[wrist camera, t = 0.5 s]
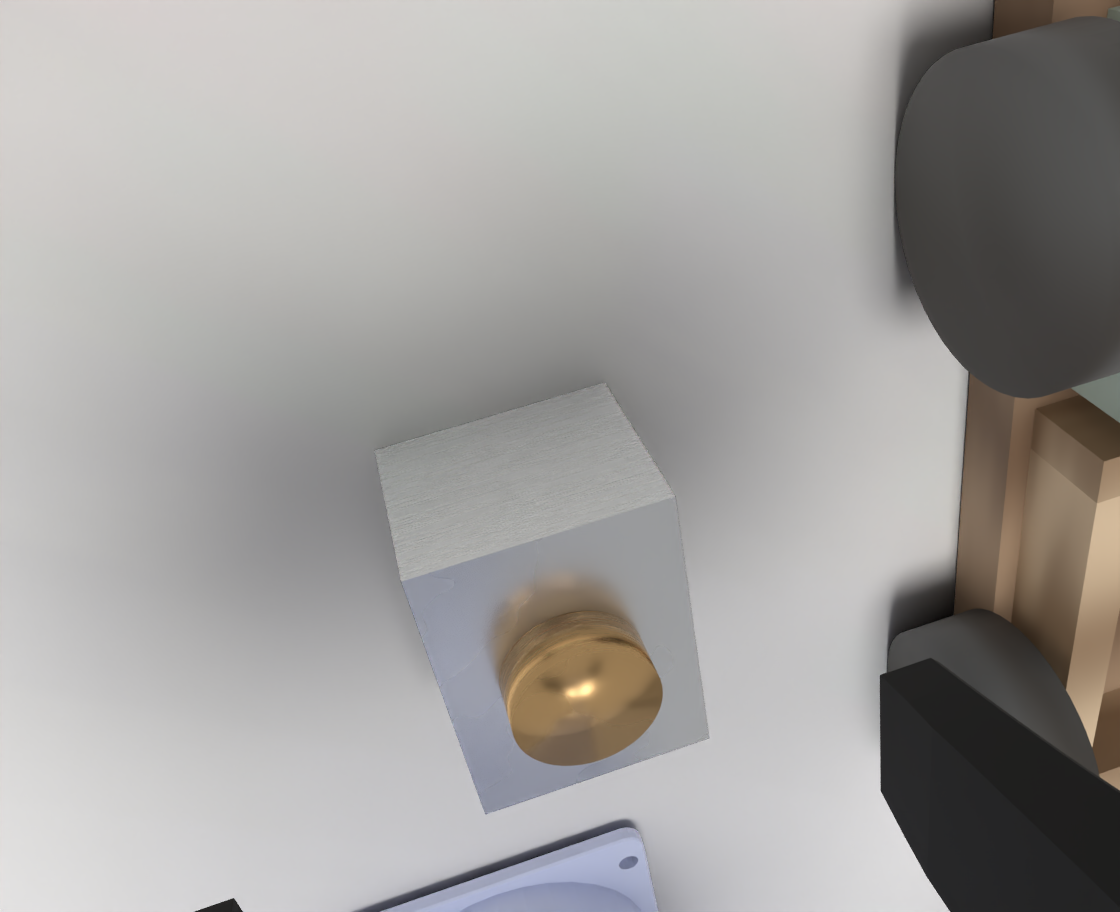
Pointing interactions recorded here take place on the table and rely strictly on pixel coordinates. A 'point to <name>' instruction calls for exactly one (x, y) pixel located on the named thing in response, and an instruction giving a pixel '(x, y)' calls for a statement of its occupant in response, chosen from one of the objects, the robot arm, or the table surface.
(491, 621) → the engine block
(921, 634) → the chassis
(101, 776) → the table surface
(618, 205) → the table surface
